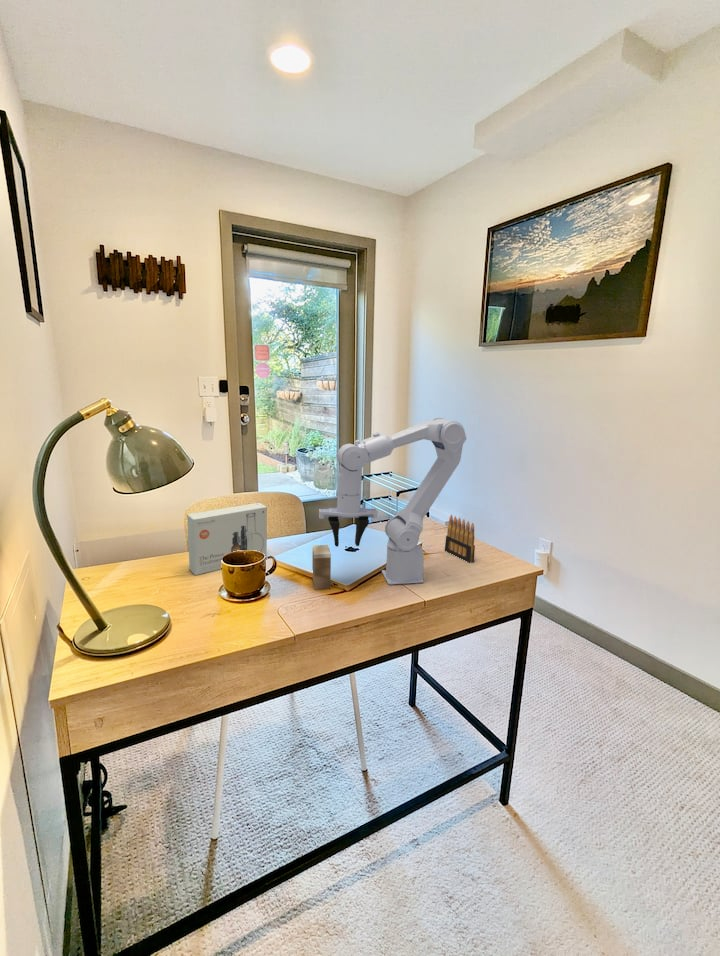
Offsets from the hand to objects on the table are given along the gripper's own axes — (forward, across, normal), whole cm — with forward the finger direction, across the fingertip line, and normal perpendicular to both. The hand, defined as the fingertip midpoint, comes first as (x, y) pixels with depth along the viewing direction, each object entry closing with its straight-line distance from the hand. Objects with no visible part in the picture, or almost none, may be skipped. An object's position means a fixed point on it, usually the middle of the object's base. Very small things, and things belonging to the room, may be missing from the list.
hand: (346, 544), depth 112 cm
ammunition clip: (+10, -37, -13) cm, 40 cm away
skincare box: (+12, +30, -16) cm, 36 cm away
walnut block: (+11, +6, 0) cm, 12 cm away
